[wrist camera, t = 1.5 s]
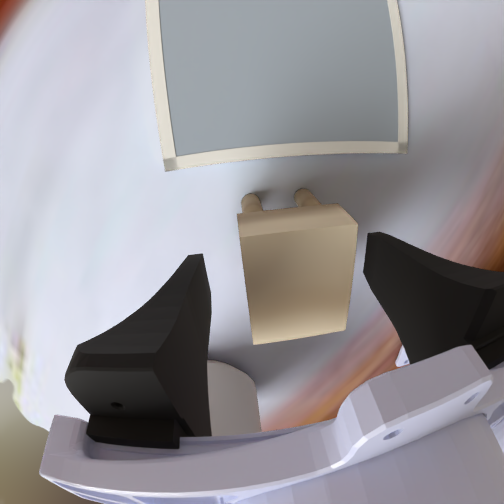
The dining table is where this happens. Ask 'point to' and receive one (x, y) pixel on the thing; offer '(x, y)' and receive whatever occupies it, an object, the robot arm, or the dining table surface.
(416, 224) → the dining table surface
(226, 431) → the can
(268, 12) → the mat
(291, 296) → the small wooden stool
